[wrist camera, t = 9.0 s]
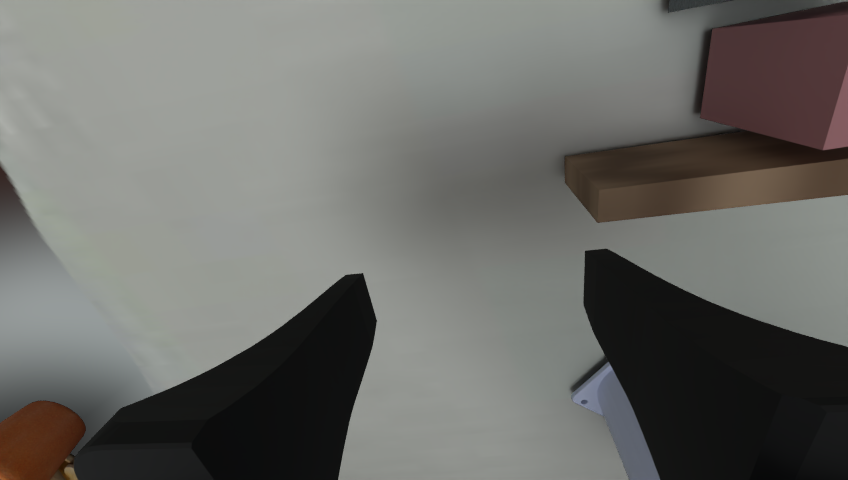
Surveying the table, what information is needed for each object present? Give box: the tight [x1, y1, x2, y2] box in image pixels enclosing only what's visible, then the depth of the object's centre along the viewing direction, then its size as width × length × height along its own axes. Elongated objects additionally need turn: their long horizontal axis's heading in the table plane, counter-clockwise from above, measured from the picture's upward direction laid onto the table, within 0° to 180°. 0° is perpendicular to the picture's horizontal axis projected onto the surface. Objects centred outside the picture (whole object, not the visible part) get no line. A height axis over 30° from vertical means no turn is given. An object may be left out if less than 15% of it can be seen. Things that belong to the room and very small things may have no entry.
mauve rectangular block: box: [700, 2, 848, 150], centre depth 14 cm, size 5×4×7 cm
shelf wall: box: [565, 131, 848, 223], centre depth 16 cm, size 18×2×6 cm, turn 100°
